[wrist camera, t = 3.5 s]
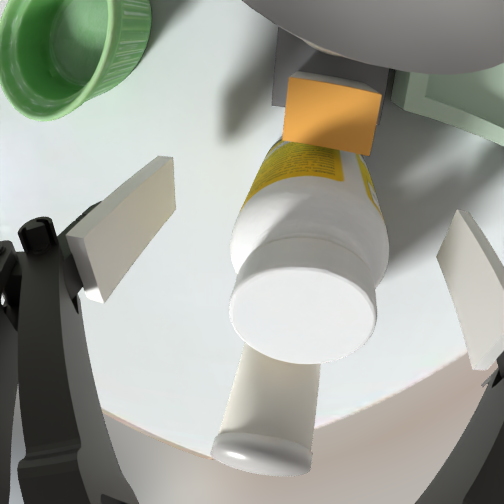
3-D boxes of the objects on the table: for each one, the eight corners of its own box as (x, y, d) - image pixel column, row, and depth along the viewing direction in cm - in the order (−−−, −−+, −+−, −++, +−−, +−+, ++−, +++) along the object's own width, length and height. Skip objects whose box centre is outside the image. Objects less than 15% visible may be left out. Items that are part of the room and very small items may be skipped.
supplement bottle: (245, 185, 17) (174, 324, 9) (299, 103, 13) (268, 187, 6) (326, 236, 18) (317, 392, 10) (387, 167, 14) (446, 310, 7)
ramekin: (191, -23, 10) (147, -41, 7) (130, 122, 16) (83, 147, 12) (72, -41, 9) (20, -45, 6) (34, 80, 15) (-14, 98, 11)
